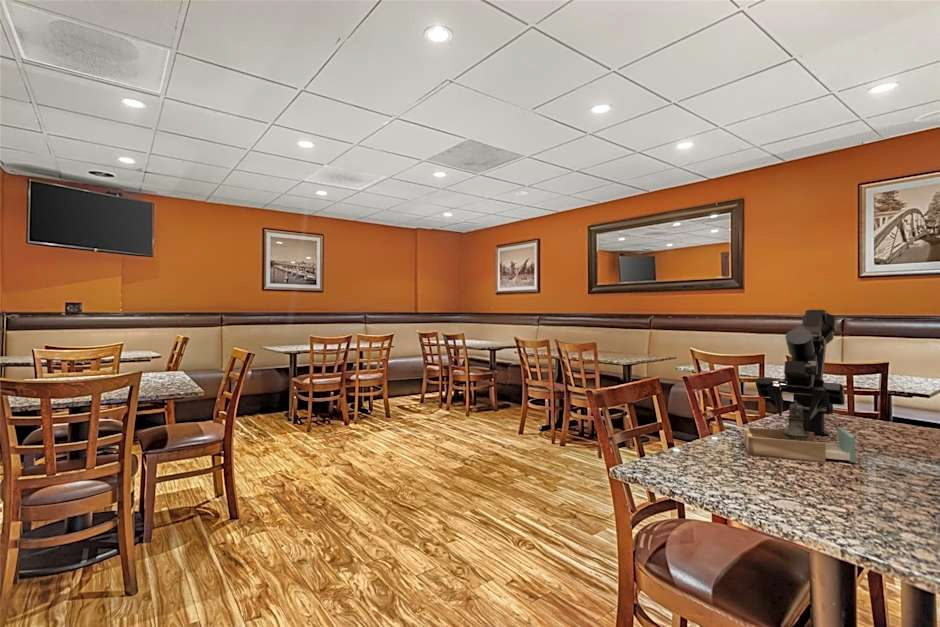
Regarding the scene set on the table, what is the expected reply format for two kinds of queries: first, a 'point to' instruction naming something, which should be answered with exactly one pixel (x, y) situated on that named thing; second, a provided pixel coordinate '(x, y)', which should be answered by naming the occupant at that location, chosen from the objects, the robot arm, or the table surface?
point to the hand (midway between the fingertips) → (794, 417)
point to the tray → (841, 447)
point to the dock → (782, 445)
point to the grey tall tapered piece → (795, 424)
